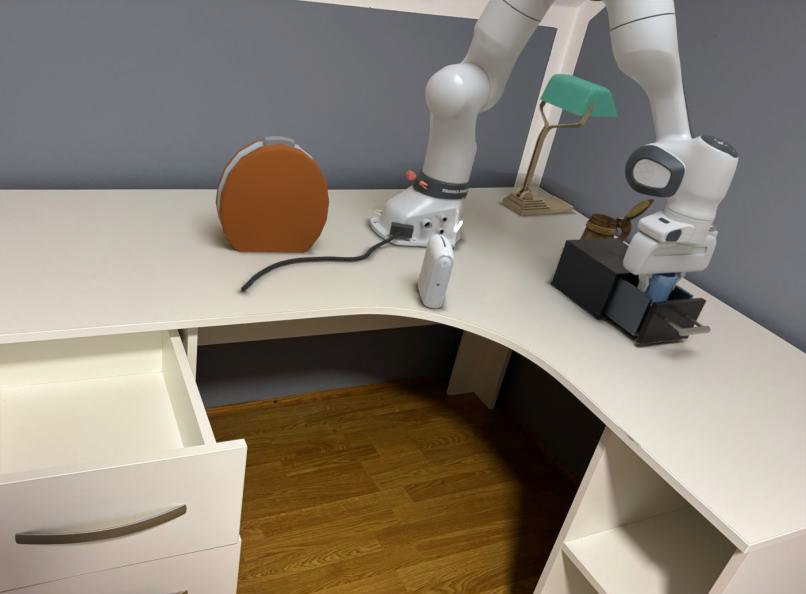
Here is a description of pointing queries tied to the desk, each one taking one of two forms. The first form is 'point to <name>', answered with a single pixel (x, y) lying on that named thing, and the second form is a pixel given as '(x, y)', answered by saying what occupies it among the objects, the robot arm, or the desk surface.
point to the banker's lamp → (573, 99)
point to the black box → (590, 272)
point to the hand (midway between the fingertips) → (654, 290)
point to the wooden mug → (613, 223)
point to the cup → (661, 286)
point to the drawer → (654, 312)
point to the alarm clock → (272, 197)
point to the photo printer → (435, 271)
